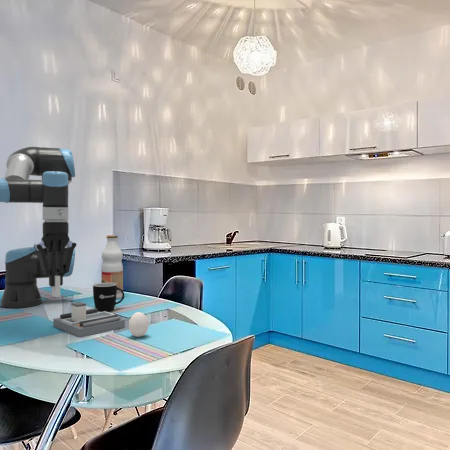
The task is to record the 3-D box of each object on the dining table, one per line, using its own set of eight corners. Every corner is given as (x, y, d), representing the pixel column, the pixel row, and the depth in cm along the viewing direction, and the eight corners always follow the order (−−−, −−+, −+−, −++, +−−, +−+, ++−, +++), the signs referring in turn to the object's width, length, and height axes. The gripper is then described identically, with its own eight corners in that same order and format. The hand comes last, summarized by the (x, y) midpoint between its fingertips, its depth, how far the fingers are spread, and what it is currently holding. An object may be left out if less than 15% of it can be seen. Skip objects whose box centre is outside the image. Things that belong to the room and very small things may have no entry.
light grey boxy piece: (71, 320, 139) (71, 303, 139) (80, 318, 142) (80, 301, 141) (77, 322, 137) (77, 305, 137) (86, 320, 139) (86, 303, 139)
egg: (131, 333, 134) (131, 309, 134) (150, 334, 134) (150, 310, 134) (126, 339, 128) (126, 314, 128) (146, 339, 128) (146, 314, 128)
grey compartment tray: (53, 326, 142) (53, 316, 142) (96, 317, 154) (96, 308, 154) (79, 337, 130) (79, 326, 130) (125, 327, 142) (125, 317, 142)
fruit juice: (122, 299, 187) (122, 235, 186) (100, 300, 185) (99, 235, 184) (123, 295, 196) (123, 234, 195) (102, 295, 194) (102, 234, 194)
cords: (83, 327, 131) (83, 322, 131) (60, 318, 142) (60, 314, 142) (120, 320, 141) (120, 315, 141) (96, 312, 152) (96, 307, 152)
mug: (95, 313, 160) (95, 287, 160) (91, 309, 168) (91, 283, 168) (126, 310, 165) (127, 284, 165) (121, 306, 173) (121, 281, 173)
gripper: (40, 221, 125) (40, 301, 126) (81, 221, 135) (81, 295, 135) (29, 221, 130) (29, 297, 131) (69, 221, 140) (69, 292, 140)
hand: (56, 296), depth 133 cm, fingers closed
